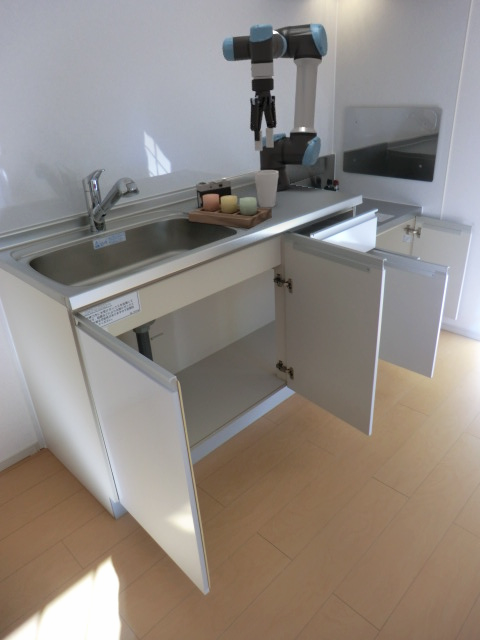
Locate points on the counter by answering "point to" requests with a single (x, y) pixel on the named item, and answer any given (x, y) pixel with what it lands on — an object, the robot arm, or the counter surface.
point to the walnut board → (230, 217)
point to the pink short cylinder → (211, 202)
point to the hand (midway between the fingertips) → (264, 148)
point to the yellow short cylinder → (229, 204)
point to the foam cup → (266, 187)
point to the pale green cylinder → (248, 206)
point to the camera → (213, 189)
